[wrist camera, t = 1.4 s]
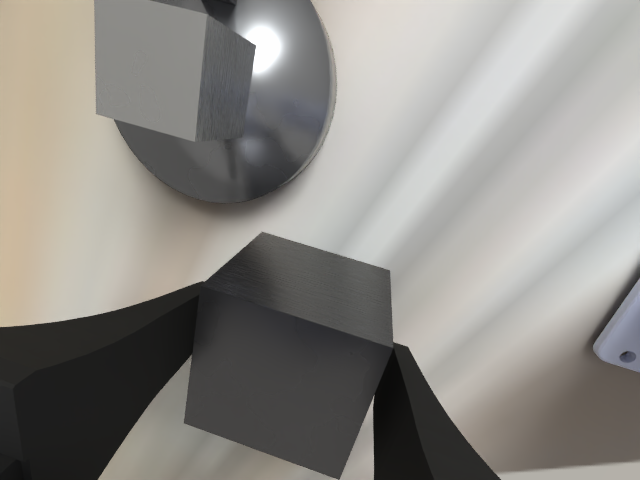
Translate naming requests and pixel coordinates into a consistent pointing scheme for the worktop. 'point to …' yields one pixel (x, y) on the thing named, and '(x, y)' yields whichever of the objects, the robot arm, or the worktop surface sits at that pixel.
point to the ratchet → (216, 90)
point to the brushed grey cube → (290, 351)
